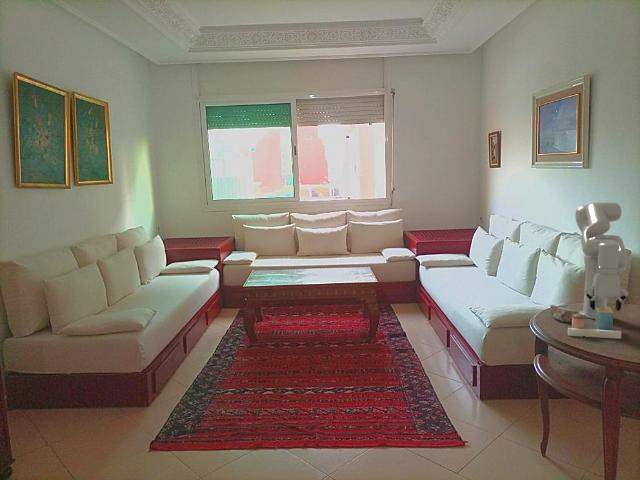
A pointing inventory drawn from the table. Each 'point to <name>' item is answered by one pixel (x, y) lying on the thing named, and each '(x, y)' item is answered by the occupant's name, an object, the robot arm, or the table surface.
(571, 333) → the rail
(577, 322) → the spice jar
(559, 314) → the mineral specimen
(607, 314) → the tea tin
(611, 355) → the table surface
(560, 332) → the table surface
